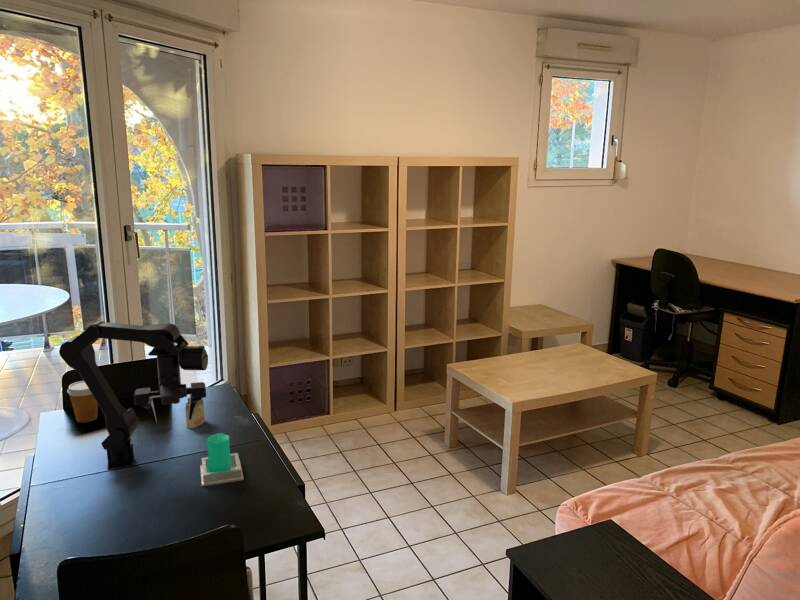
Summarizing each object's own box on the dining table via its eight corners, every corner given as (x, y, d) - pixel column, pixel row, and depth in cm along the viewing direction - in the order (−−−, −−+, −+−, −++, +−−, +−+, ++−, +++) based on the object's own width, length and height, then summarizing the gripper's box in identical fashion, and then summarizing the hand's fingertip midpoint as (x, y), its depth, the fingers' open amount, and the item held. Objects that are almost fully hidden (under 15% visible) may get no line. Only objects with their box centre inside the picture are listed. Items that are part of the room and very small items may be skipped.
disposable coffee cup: (94, 425, 198) (90, 390, 195) (64, 424, 198) (60, 390, 195) (108, 413, 207) (104, 380, 204) (80, 412, 207) (76, 379, 204)
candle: (220, 480, 166) (217, 439, 163) (204, 474, 169) (201, 434, 166) (235, 470, 171) (233, 431, 168) (220, 464, 174) (217, 426, 171)
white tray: (201, 486, 163) (200, 471, 162) (199, 457, 179) (198, 443, 178) (243, 480, 167) (243, 465, 166) (237, 451, 182) (237, 438, 181)
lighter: (192, 429, 196) (190, 400, 194) (183, 427, 198) (181, 398, 195) (207, 421, 203) (205, 393, 200) (198, 419, 204) (196, 391, 202)
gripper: (130, 383, 158) (135, 438, 162) (205, 376, 164) (208, 429, 168) (133, 369, 168) (137, 421, 172) (203, 362, 174) (206, 412, 178)
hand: (172, 421), depth 172 cm, fingers open, 9 cm apart
